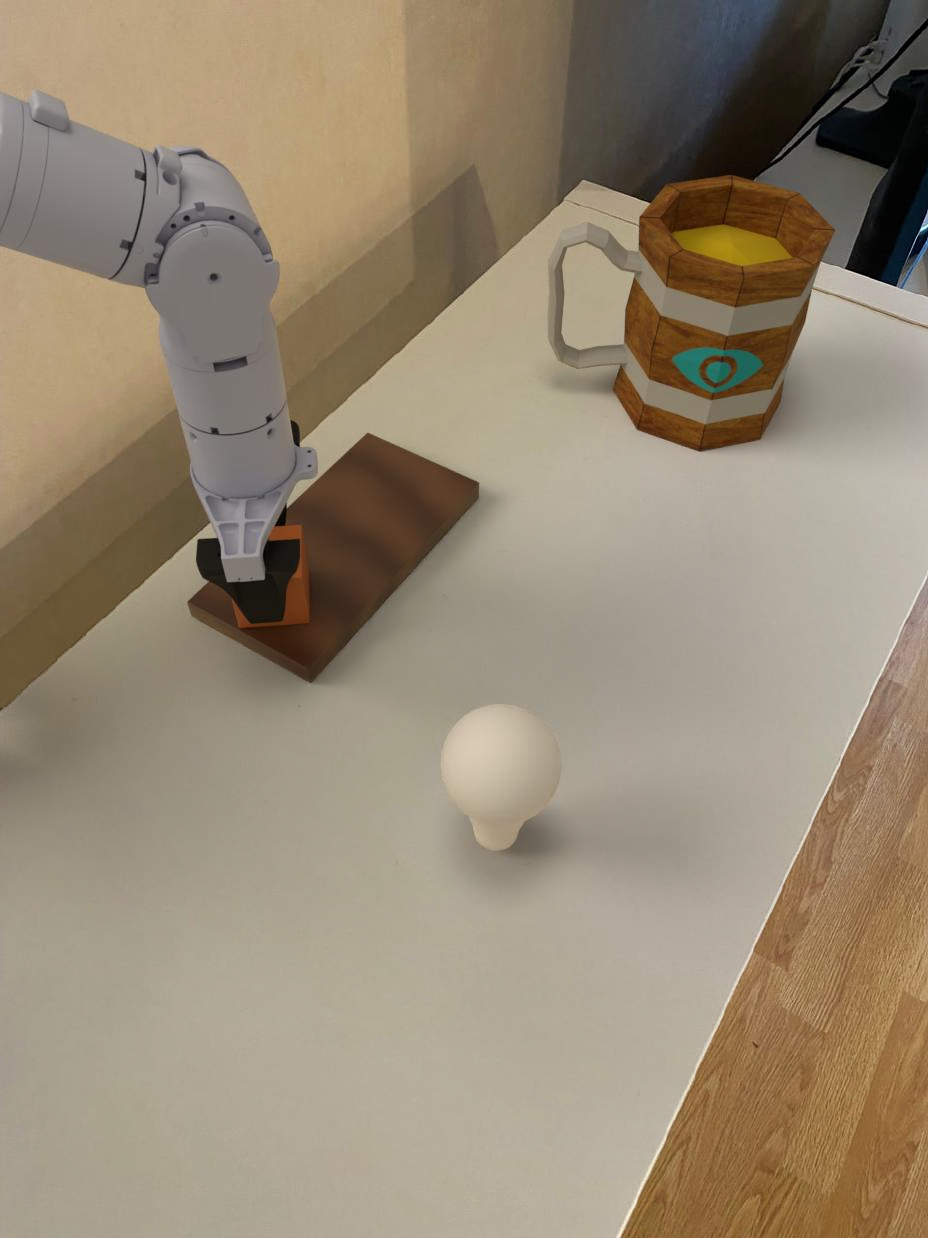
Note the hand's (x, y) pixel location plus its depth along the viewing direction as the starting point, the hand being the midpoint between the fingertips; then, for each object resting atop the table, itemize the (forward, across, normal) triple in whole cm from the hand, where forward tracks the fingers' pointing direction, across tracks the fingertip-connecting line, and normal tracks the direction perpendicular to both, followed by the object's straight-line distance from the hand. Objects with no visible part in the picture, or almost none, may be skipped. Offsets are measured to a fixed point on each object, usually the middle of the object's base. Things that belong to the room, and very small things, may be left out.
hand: (267, 571), depth 64 cm
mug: (+4, +20, -30) cm, 37 cm away
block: (+3, 0, 0) cm, 3 cm away
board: (+4, +5, -4) cm, 8 cm away
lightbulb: (+4, -18, -12) cm, 22 cm away
